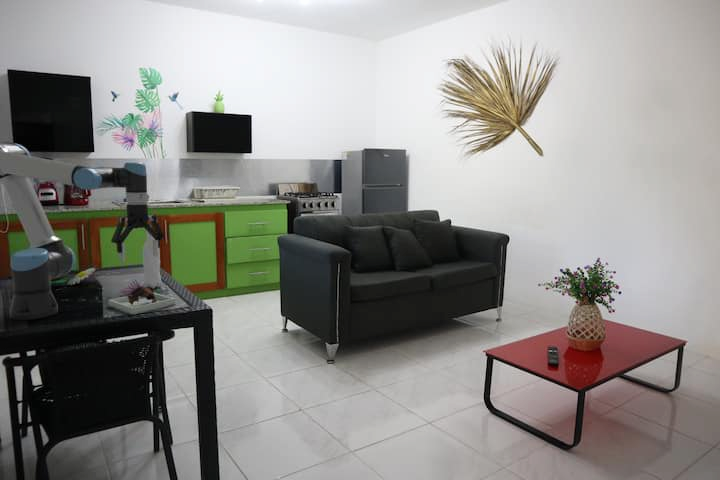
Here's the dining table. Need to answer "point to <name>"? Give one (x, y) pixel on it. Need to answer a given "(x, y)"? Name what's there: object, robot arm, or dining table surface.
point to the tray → (141, 304)
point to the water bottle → (151, 264)
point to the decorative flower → (77, 277)
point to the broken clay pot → (142, 294)
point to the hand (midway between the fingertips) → (139, 258)
